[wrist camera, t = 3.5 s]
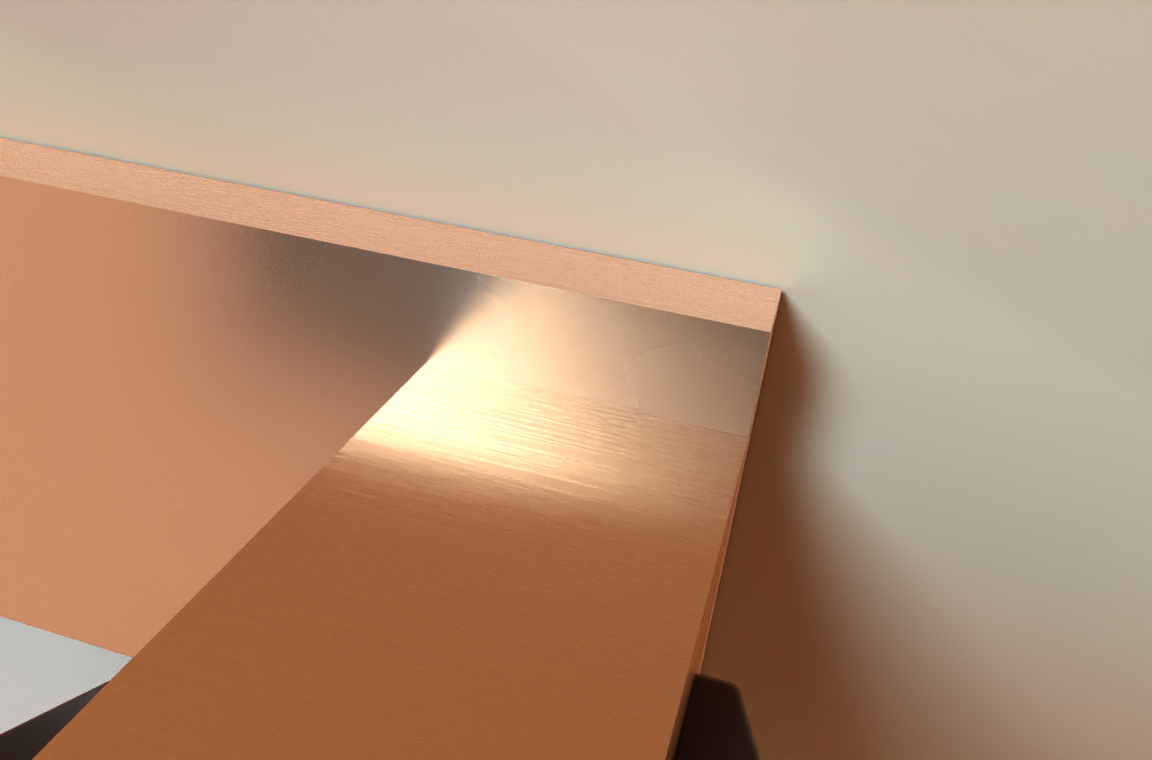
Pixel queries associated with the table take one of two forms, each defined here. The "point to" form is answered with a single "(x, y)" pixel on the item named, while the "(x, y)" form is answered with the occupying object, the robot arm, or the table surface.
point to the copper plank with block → (359, 471)
